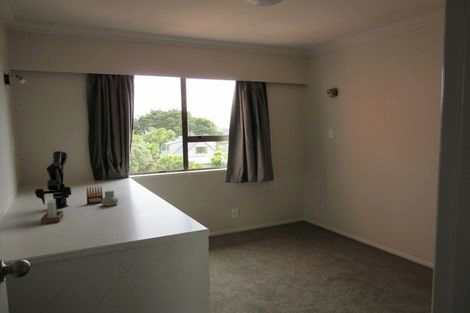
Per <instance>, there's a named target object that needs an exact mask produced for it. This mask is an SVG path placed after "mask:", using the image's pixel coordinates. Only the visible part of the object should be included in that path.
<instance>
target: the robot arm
mask: <svg viewBox="0 0 470 313" xmlns="http://www.w3.org/2000/svg"><path fill="white" fill-rule="evenodd" d="M52 159H53V160H52V163H50V165H49V166H48V167H47V168H46V171H47V175H48V178H49V180H48V179H47V181H46V182H47V183H46V186H47V190H44V188H36V189H35V191H34V193H35V196H36V198H38V199H41V201H42V203H43V205H44V206H45V204H46V202H45V201H46V197H45V195H48V194H49V195H51V194H52V198H53V199H52V200H55V199H56V209H63V208H66V207H67V208H68V207H69V205H68V203H67V199H68V198H70V196H71V195H72V189H71V186H66V185H65V183H64V181H65V171H64V170H65V164H66V163H67V160H68V153H67V152H65V151H62V150H59V151H58V150H57V151H54V152H53V153H52Z"/></svg>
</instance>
